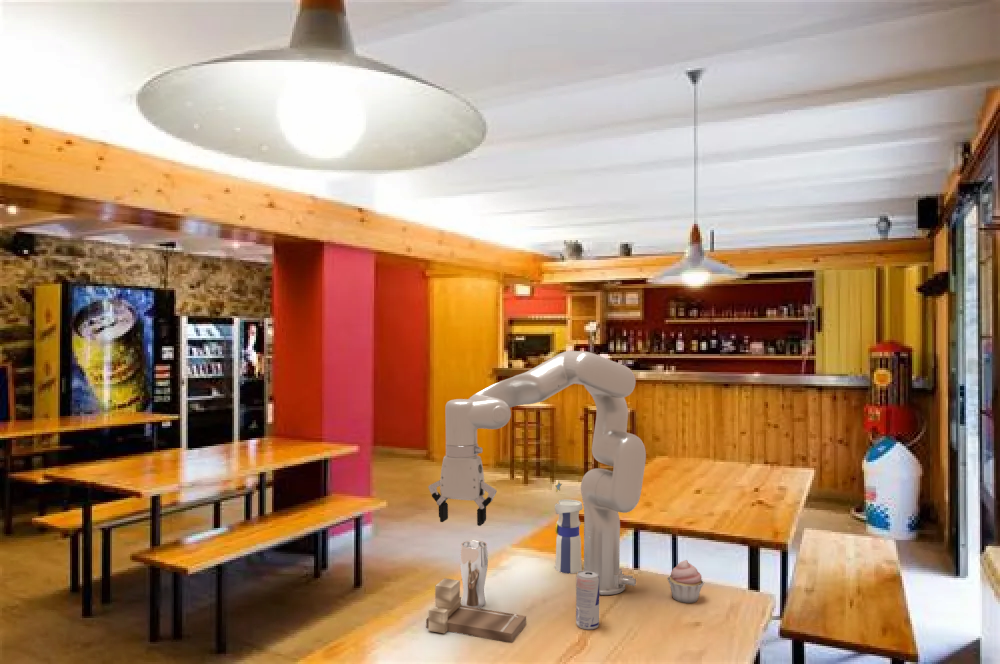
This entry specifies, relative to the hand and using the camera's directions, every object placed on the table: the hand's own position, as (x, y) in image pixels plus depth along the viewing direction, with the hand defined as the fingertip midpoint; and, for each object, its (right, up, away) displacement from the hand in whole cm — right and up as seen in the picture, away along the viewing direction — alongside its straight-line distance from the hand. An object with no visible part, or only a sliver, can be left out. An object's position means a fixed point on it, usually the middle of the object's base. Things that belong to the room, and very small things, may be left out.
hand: (462, 522), depth 162 cm
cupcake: (+57, -24, +12) cm, 63 cm away
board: (+4, -23, -5) cm, 23 cm away
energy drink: (+30, -23, -4) cm, 38 cm away
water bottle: (+29, -23, +34) cm, 50 cm away
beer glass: (+2, -23, +8) cm, 25 cm away
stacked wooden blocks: (-4, -22, -4) cm, 23 cm away
